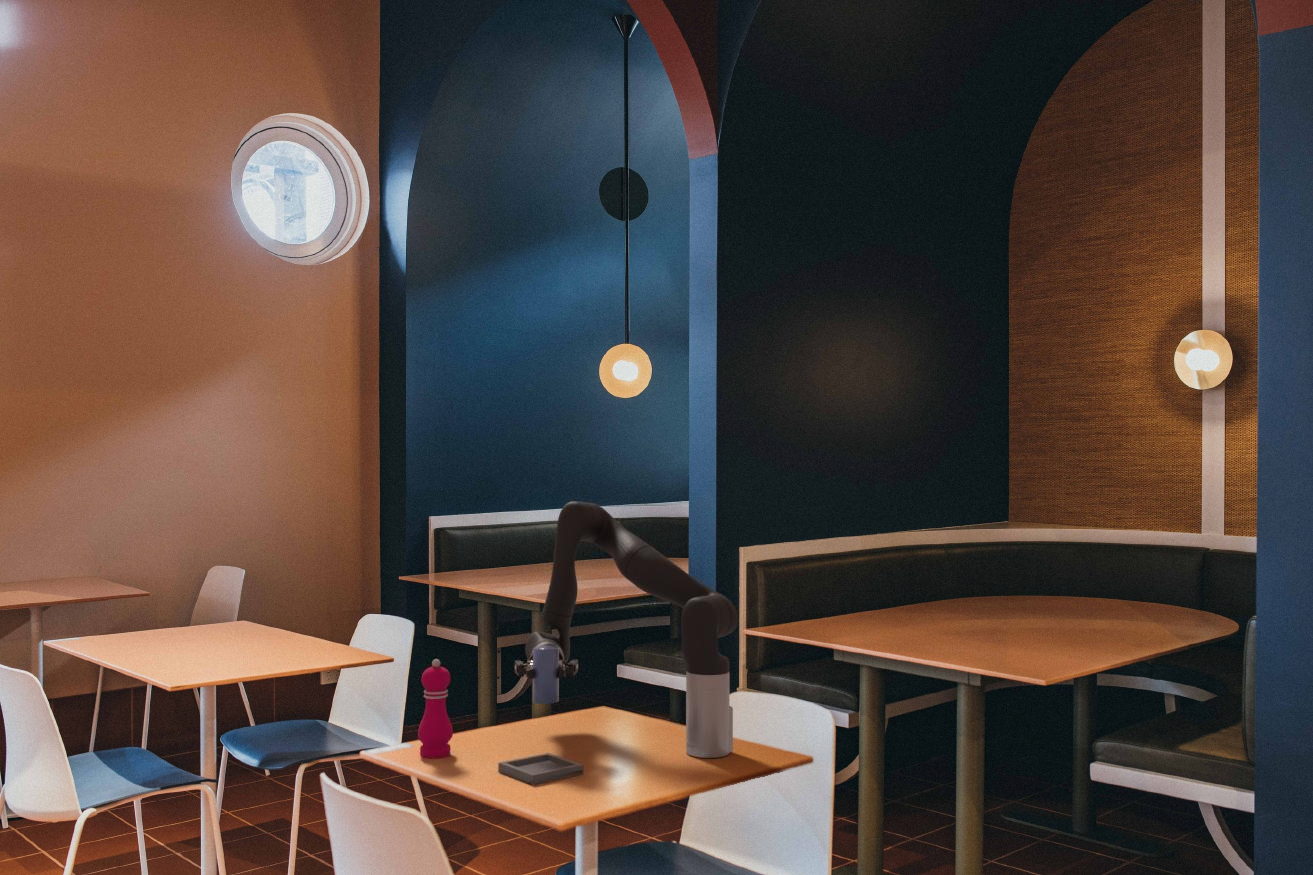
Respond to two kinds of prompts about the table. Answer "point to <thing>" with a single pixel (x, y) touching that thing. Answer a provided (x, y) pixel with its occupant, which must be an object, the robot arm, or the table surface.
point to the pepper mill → (435, 713)
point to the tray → (540, 768)
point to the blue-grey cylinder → (545, 674)
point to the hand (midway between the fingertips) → (545, 674)
